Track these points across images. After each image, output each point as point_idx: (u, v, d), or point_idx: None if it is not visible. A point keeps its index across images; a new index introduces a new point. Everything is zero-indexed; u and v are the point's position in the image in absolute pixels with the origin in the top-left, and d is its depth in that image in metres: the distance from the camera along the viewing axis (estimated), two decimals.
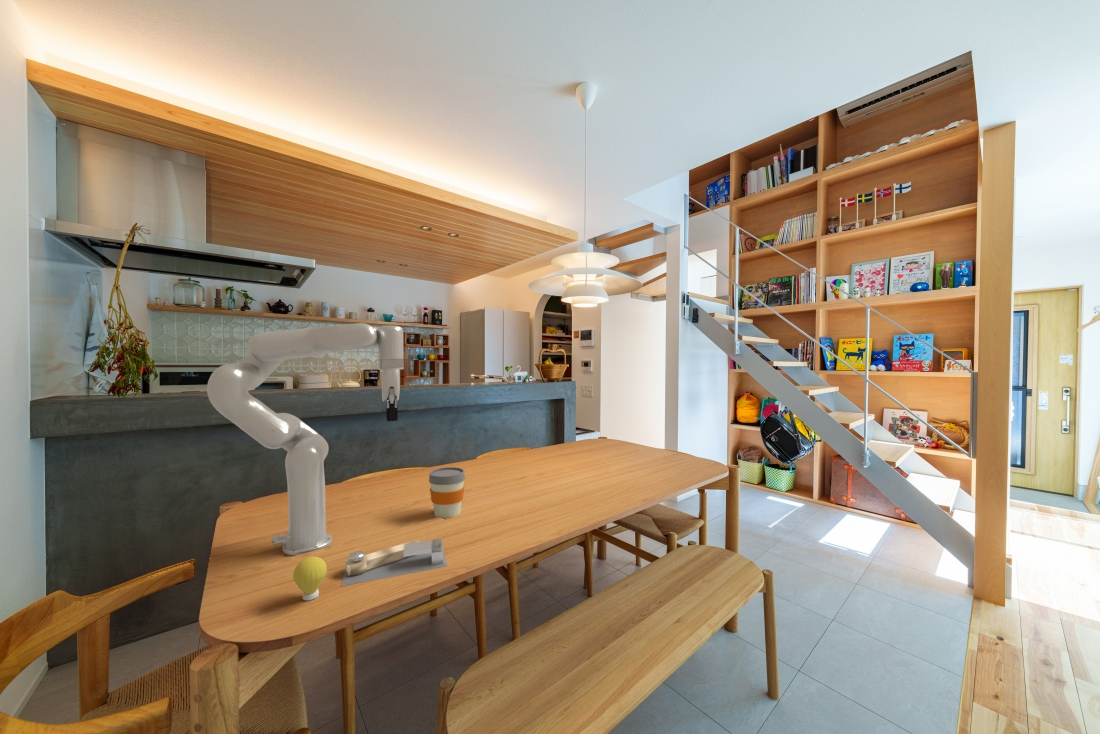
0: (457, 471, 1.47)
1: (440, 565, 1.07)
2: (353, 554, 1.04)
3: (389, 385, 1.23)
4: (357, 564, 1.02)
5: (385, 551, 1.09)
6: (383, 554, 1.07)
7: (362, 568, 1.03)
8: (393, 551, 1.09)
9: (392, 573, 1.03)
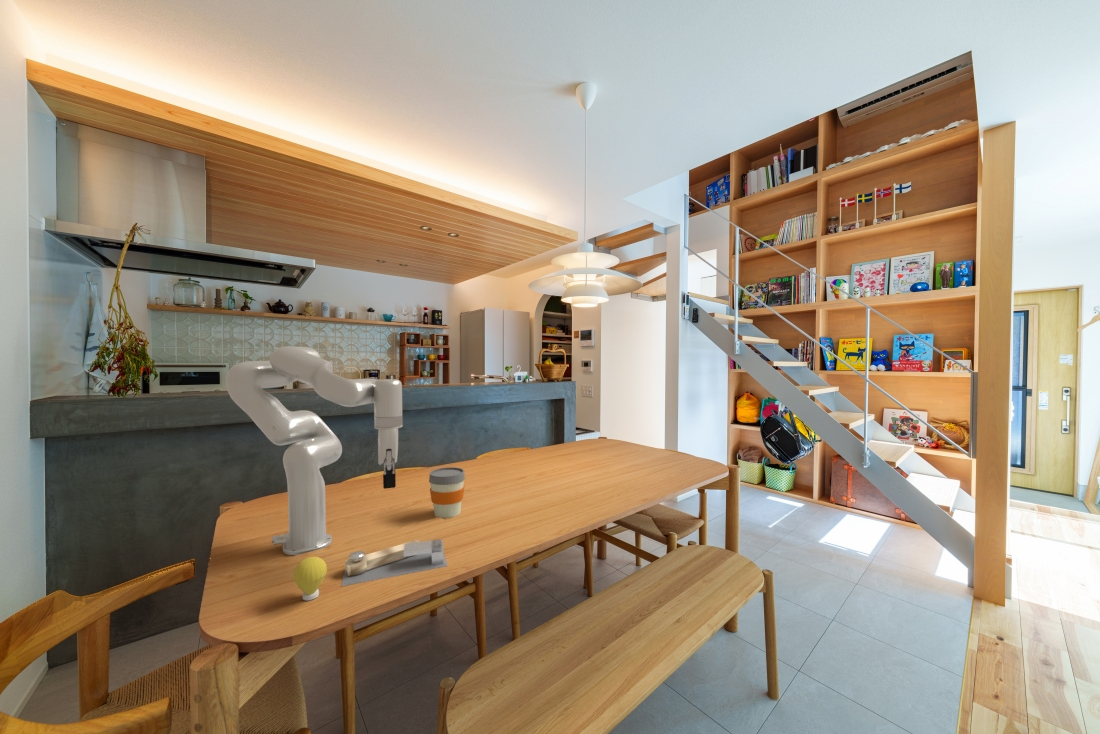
0: (457, 471, 1.48)
1: (440, 565, 1.07)
2: (353, 554, 1.04)
3: (386, 447, 1.11)
4: (357, 564, 1.02)
5: (385, 551, 1.09)
6: (383, 554, 1.07)
7: (362, 568, 1.03)
8: (393, 551, 1.09)
9: (392, 573, 1.03)
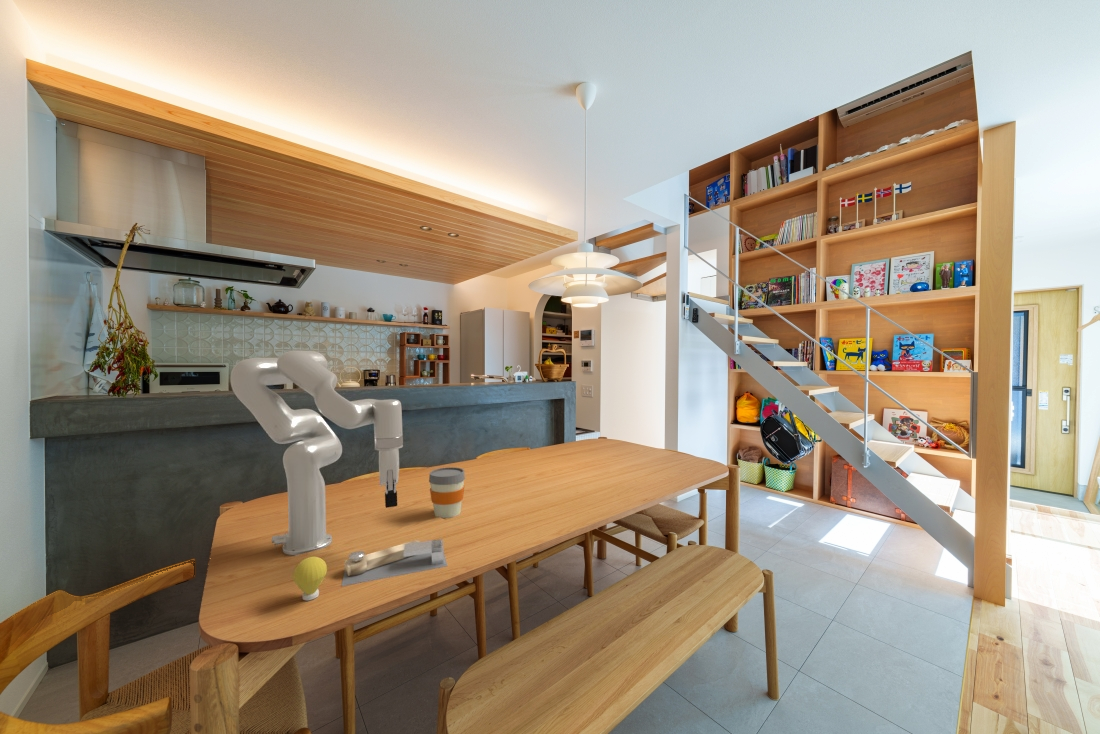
0: (457, 471, 1.47)
1: (440, 565, 1.07)
2: (353, 554, 1.04)
3: (387, 468, 1.11)
4: (357, 564, 1.02)
5: (385, 551, 1.09)
6: (383, 554, 1.07)
7: (362, 568, 1.03)
8: (393, 551, 1.09)
9: (392, 573, 1.03)
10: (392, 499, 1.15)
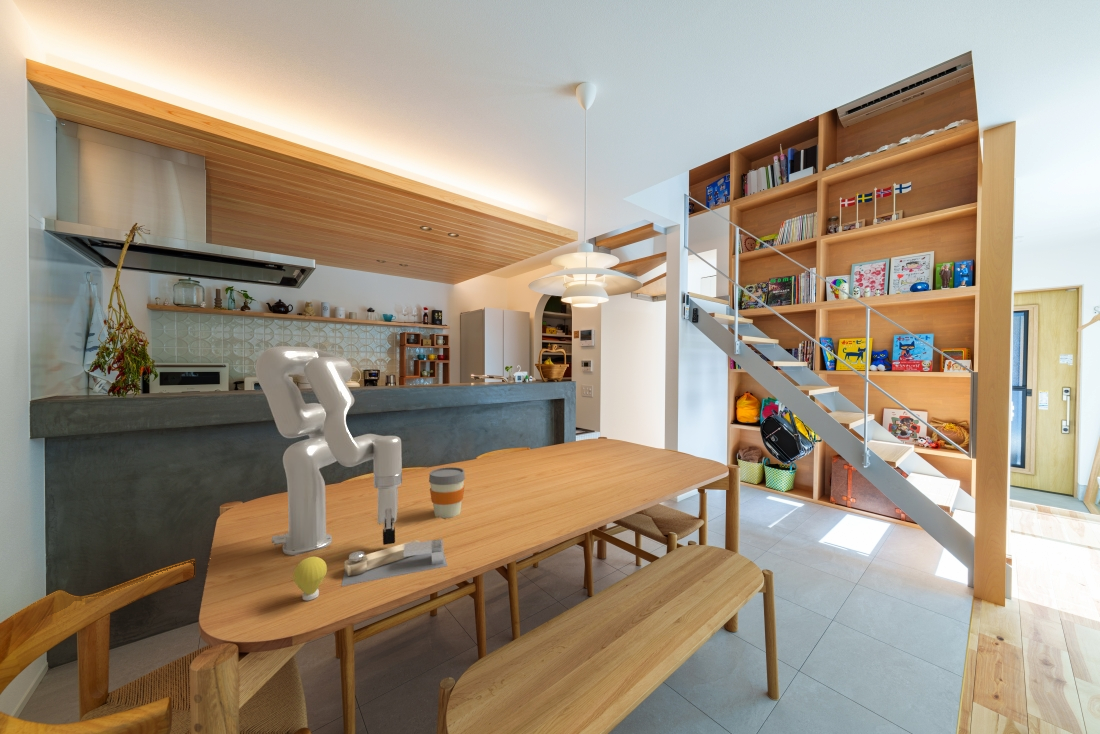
0: (457, 471, 1.48)
1: (440, 565, 1.07)
2: (353, 554, 1.04)
3: (386, 507, 1.11)
4: (357, 564, 1.02)
5: (385, 551, 1.09)
6: (383, 554, 1.07)
7: (362, 568, 1.03)
8: (393, 551, 1.09)
9: (392, 573, 1.03)
10: (390, 536, 1.15)
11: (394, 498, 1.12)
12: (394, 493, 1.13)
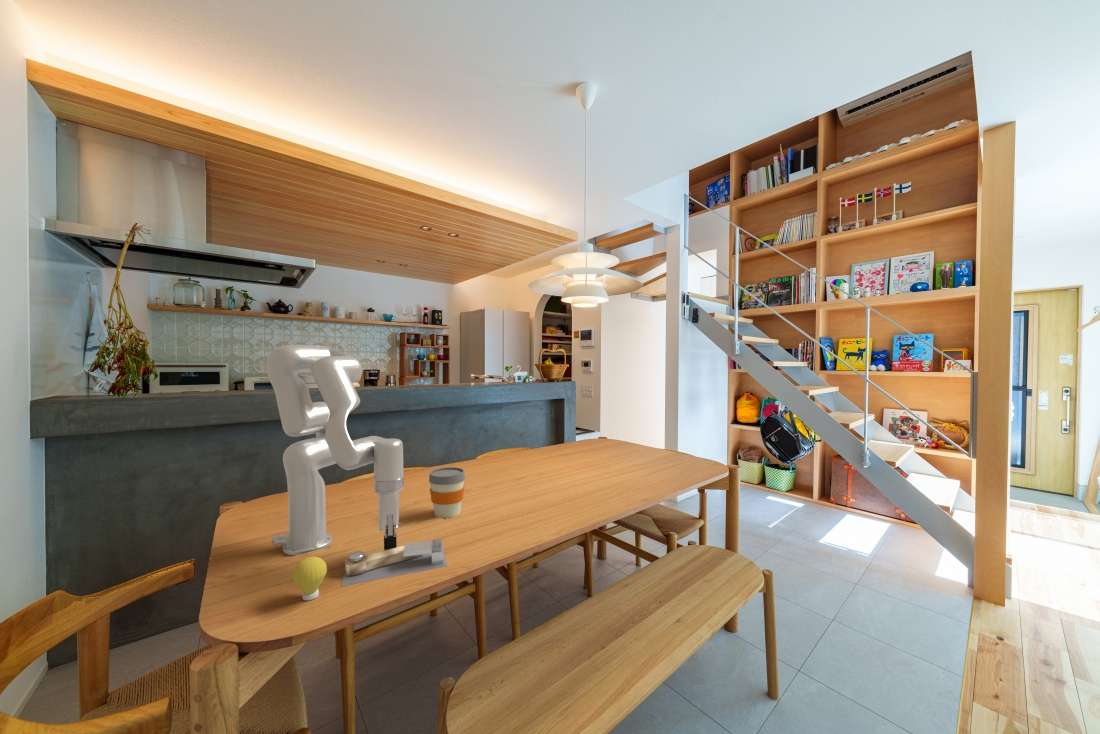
0: (457, 471, 1.48)
1: (440, 565, 1.07)
2: (353, 554, 1.04)
3: (387, 513, 1.07)
4: (356, 565, 1.02)
5: (386, 552, 1.08)
6: (383, 555, 1.07)
7: (361, 568, 1.02)
8: (394, 552, 1.08)
9: (392, 573, 1.03)
10: (391, 543, 1.10)
11: (396, 503, 1.08)
12: (396, 498, 1.08)
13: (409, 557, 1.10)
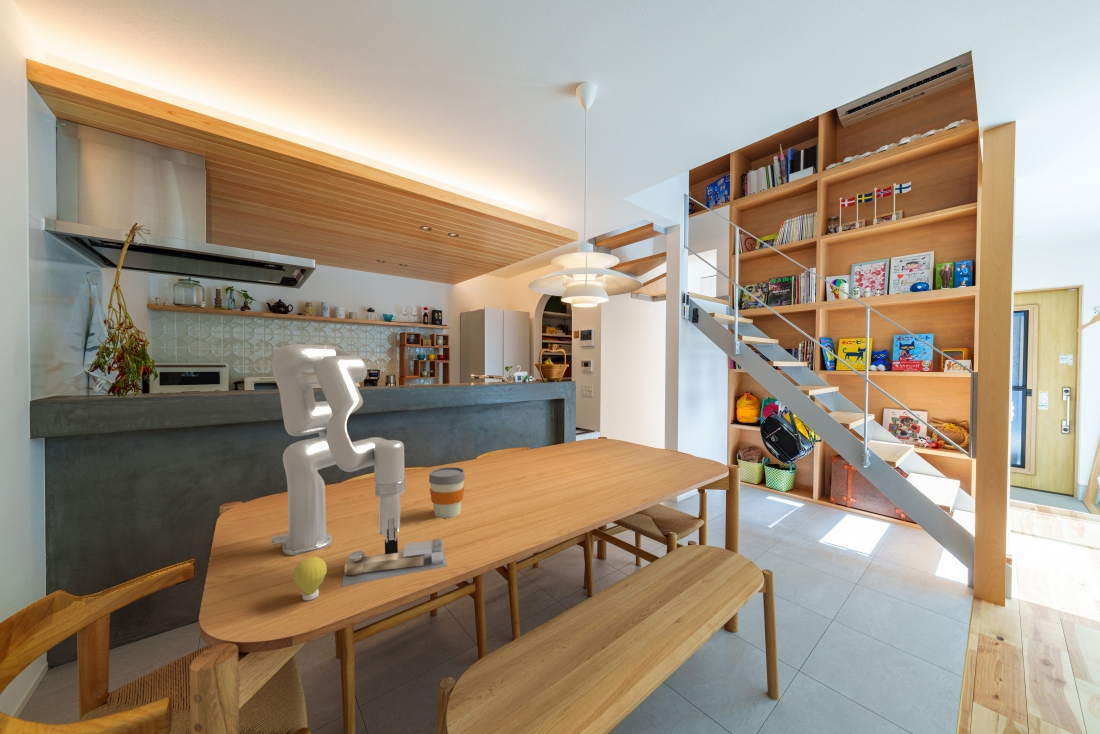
0: (457, 471, 1.48)
1: (440, 565, 1.07)
2: (353, 554, 1.04)
3: (388, 517, 1.04)
4: (352, 565, 1.02)
5: (387, 556, 1.06)
6: (382, 559, 1.05)
7: (357, 570, 1.02)
8: (393, 558, 1.05)
9: (392, 573, 1.03)
10: (392, 548, 1.08)
11: (397, 507, 1.05)
12: (397, 502, 1.05)
13: (408, 565, 1.05)
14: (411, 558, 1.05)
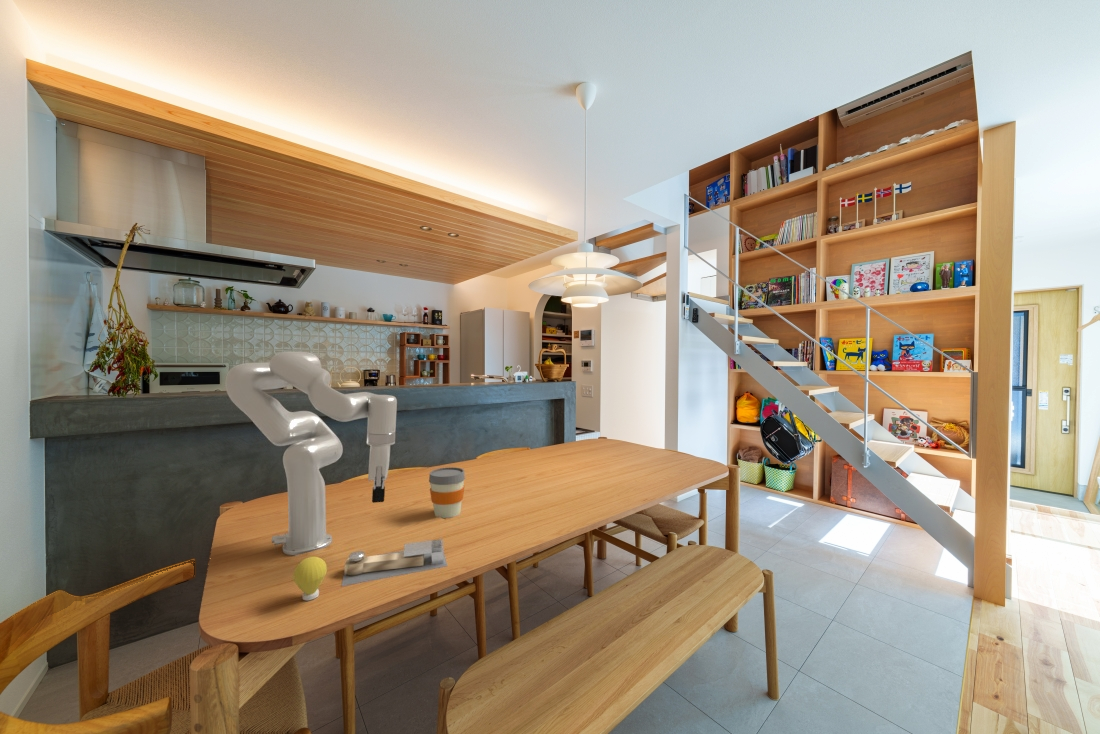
0: (457, 471, 1.48)
1: (440, 565, 1.07)
2: (353, 554, 1.04)
3: (377, 464, 1.11)
4: (352, 565, 1.02)
5: (387, 556, 1.06)
6: (382, 559, 1.05)
7: (357, 570, 1.02)
8: (393, 558, 1.05)
9: (392, 573, 1.03)
10: (379, 495, 1.15)
11: (386, 456, 1.12)
12: (386, 451, 1.12)
13: (408, 565, 1.05)
14: (411, 558, 1.05)
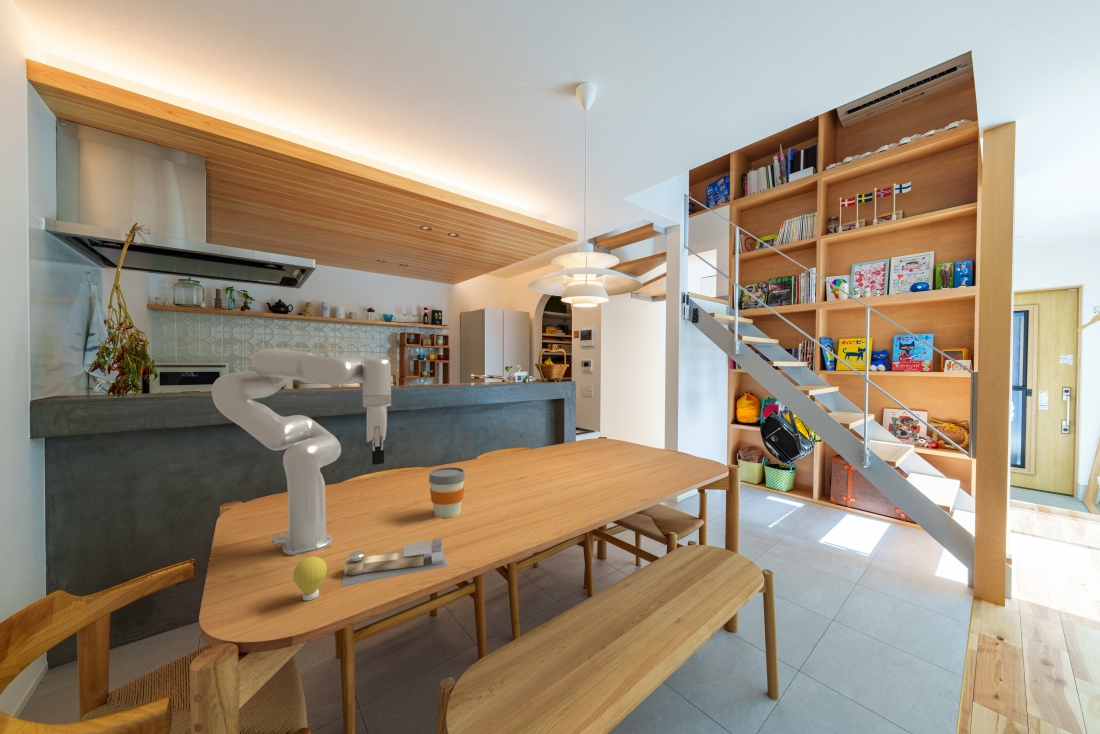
0: (457, 471, 1.48)
1: (440, 565, 1.07)
2: (353, 554, 1.04)
3: (374, 425, 1.13)
4: (352, 565, 1.02)
5: (387, 556, 1.06)
6: (382, 559, 1.05)
7: (357, 570, 1.02)
8: (393, 558, 1.05)
9: (392, 573, 1.03)
10: (379, 456, 1.17)
11: (383, 417, 1.14)
12: (383, 412, 1.14)
13: (408, 565, 1.05)
14: (411, 558, 1.05)
